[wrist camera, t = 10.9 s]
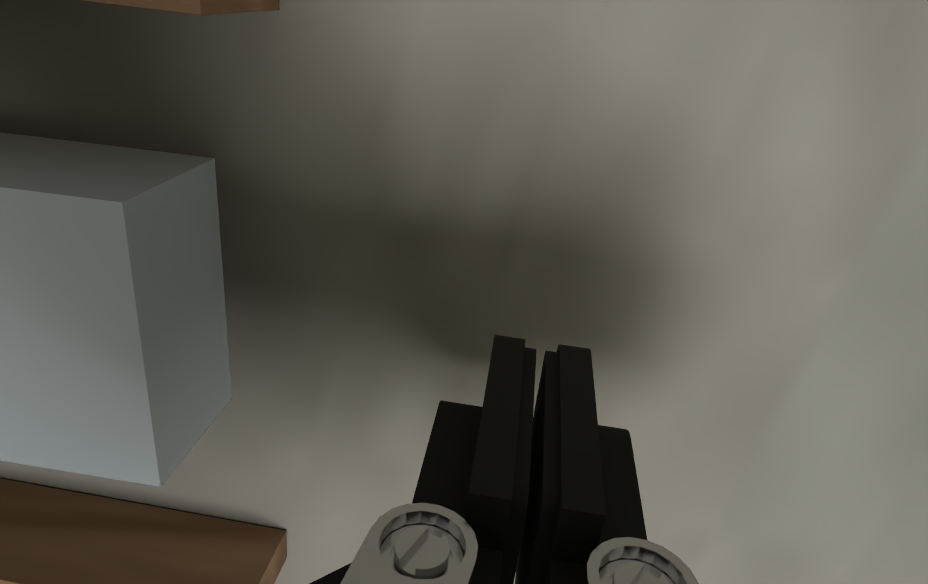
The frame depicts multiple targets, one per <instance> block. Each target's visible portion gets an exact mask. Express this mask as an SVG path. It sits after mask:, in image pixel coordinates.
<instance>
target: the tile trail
mask: <svg viewBox="0 0 928 584" xmlns="http://www.w3.org/2000/svg"><path fill="white" fill-rule="evenodd" d="M231 399H232V391H231V377H230V363H229V349H228V336H227V322H226V308H225V294H224V281H223V267H222V253H221V239H220V225H219V212H218V198H217V184H216V170H215V158H209V157H201V156H193V155H184V154H176V153H168V152H160V151H151V150H143V149H135V148H126V147H118V146H110V145H101V144H93V143H85V142H77V141H68V140H60V139H52V138H43V137H35V136H27V135H18V134H10V133H2V132H0V461H6V462H12V463H18V464H24V465H31V466H37V467H43V468H49V469H55V470H61V471H67V472H73V473H79V474H85V475H91V476H97V477H103V478H110V479H116V480H122V481H128V482H134V483H140V484H146V485H152V486H158V487H161V486H162V484H163V483H164V482H165V481H166V479H167V478H168V477H169V476H170V474H171V473H172V472H173V471H174V469H175V468H176V467H177V466H178V465H179V463H180V462H181V461H182V460H183V458H184V457H185V456H186V455H187V453H188V452H189V451H190V450H191V448H192V447H193V446H194V445H195V444H196V442H197V441H198V440H199V439H200V437H201V436H202V435H203V434H204V432H205V431H206V430H207V429H208V427H209V426H210V425H211V424H212V423H213V421H214V420H215V419H216V418H217V416H218V415H219V414H220V413H221V411H222V410H223V409H224V408H225V407H226V405H227V404H228V403H229V402H230V400H231Z"/></svg>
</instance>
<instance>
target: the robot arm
mask: <svg viewBox="0 0 928 584" xmlns="http://www.w3.org/2000/svg"><path fill="white" fill-rule="evenodd" d="M535 365H536V349H531V348H525V339H519V338H512V337H506V336H499V335H495V337H494V343H493V349H492V355H491V361H490V367H489V373H488V379H487V385H486V391H485V397H484V403H483V407H479V406H473V405H466V404H460V403H454V402H447V401H440V403H439V406H438V409H437V413H436V417H435V420H434V424H433V428H432V431H431V435H430V439H429V443H428V446H427V450H426V454H425V457H424V461H423V465H422V468H421V472H420V476H419V480H418V483H417V487H416V491H415V494H414V498H413V502H412V504H405V505H402V506H399V507H396V508H393V509H391V510H390V511H388V512H386V513H385V514H383V515H382V516H380V517H379V518H378V520H377V521H376V522H375V523H374V525H373V526H372V527H371V529H370V531H369V532H368V534H367V536H366V538H365V540H364V541H363V543H362V545H361V547H360V549H359V551H358V552H357V554H356V556H355V558H354V560H353V562H352V563H350V564H348V565H346V566H344V567H342V568H340V569H338V570H336V571H334V572H332V573H330V574H328V575H326V576H324V577H322V578H320V579H318V580H316V581H314V582H312V583H310V584H513V582H514V577H515V572H516V579H515V584H699V583H698V582H697V580H696V578H695V576H694V575H693V573H692V571H691V570H690V568H689V567H688V566H687V565H686V564H685V563H684V562H683V561H682V560H681V559H680V558H679V557H678V556H676V555H675V554H673V553H672V552H670V551H669V550H667V549H666V548H664V547H663V546H660V545H658V544H655V543H653V542H650V541H648V540H647V536H646V530H645V524H644V518H643V511H642V505H641V499H640V493H639V487H638V480H637V474H636V468H635V462H634V456H633V449H632V443H631V437H630V434H629V431H628V430H626V429H620V428H614V427H607V426H601V425H598V422H597V412H596V401H595V390H594V379H593V369H592V358H591V350H590V349H586V348H580V347H573V346H566V345H559V346H558V349H557V352H551V351H546V352H545V356H544V361H543V366H542V372H541V378H540V383H539V389H538V394H537V400H536V405H535V411H534V417H533V404H534V385H535Z"/></svg>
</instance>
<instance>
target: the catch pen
mask: <svg viewBox="0 0 928 584" xmlns="http://www.w3.org/2000/svg"><path fill="white" fill-rule="evenodd" d="M82 1H91V2H99V3H107V4H116V5H124V6H132V7H140V8H149V9H157V10H165V11H174V12H182V13H190V14H199V15H205V14H221V13H236V12H252V11H267V10H279V0H82ZM286 558H287V554H286V530H280V529H275V528H269V527H264V526H258V525H253V524H247V523H242V522H236V521H231V520H226V519H220V518H215V517H209V516H204V515H198V514H193V513H187V512H182V511H176V510H171V509H165V508H160V507H154V506H149V505H143V504H138V503H132V502H127V501H121V500H116V499H110V498H105V497H99V496H94V495H88V494H83V493H78V492H72V491H67V490H61V489H56V488H50V487H45V486H39V485H34V484H28V483H23V482H17V481H12V480H6V479H1V478H0V584H274V583H275V581H276V578H277V576H278V574H279V572H280V570H281V568H282V566H283V564H284V562H285V560H286Z"/></svg>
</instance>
